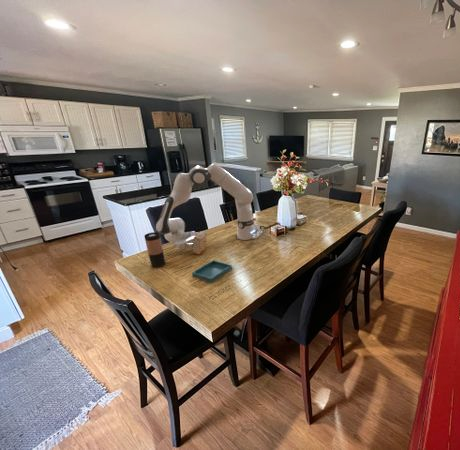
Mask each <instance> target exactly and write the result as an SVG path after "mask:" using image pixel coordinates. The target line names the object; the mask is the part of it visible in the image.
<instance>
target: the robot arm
mask: <svg viewBox="0 0 460 450" xmlns="http://www.w3.org/2000/svg"><path fill="white" fill-rule="evenodd" d="M210 181H212V182H214V183H215V184H217V186H218V187H220V188H221V189H223V190H224V191H226V192H227V193H228V194H229V195H231V197H233V198H234V202H235V207H236V214H237V221H236V223H237V226H236V227H237V228H236V230H237V231H236V238H237V239H238V240H241V241H243V240H244V241H247V240H256V239H258V238H259V237H260V236H261V235H262V234H263V233H264V230H263V229H269V228H272V227H273V226H275V225H277V224H278V223H277V222H278V221H276V222H274V223H273V224H271V225H269V226H264V225H261V224H258V223H256V221H257V218H256V217H253V209H252V205H251V203H253V201H254V194H253V192H252V191H251V190H250V189H249V188H247V187H246V185H244V184H242V182H241V181H240V180H238V179H237V178H236V177H234V176H233V175H231V173H229V171H227V170H225V168H223V167H221V166H220V165H218V164H216V163H212V164H210V165H208V166H207V167H204V166H203V165H199V164H195V165H194V166H192V167H191V168H190V169H189V171H187V173H185V172H181V173H178V174H177V175H176V177H175V180H174V182H173V186H172V190H171V193H170V194H169V196H168V197H167V198H166V199H165V201H164V203H163V206H162V209H161V212H160V215H159V217H158V220H157V221H156V223H155V230H156V232H158V233H159V235H163V236H164V239H165V240H166V241H167V242H169V243H171V246H172V247H175V248H177V249H179V250H182V249H185V248H186V247H192V248H193V244H194V236H196V235H197V234H198V233H199V232H198V231H197V232H196V231H195V230H191V231H186V223H185V221H184V220H183V219H182V218H181V217H174V218H173V217H172V218H171V216H172V213H173V210H174V209H175V208H176V207H178V206H180V205H182V204H185V203H187V202H188V201H189V199H190V198H191V195H192V189H193V186H194V185H197V186H202V185H205V184H206V183H208V182H210ZM301 214H302V212H299V213H298V215H301ZM262 228H263V229H262Z"/></svg>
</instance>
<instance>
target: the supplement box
mask: <svg viewBox="0 0 460 450" xmlns="http://www.w3.org/2000/svg"><path fill="white" fill-rule="evenodd" d="M207 237H208V233H207V232H205V231H201V230H200V231H199V232H198V234H197V235H196V236H194V244H193V246H192V253H193V254H196V255H201V253H202V252H203V251H204V250H205V249H206V248H207V247H206V246H207V240H208V239H207Z"/></svg>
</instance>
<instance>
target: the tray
mask: <svg viewBox="0 0 460 450" xmlns="http://www.w3.org/2000/svg"><path fill="white" fill-rule="evenodd" d="M232 269H233V265H232V264H228V263H226V262H222V261H218V260H215V259H213V260H211V261H210V262H207V263H206V264H204V265H203V266H200V267H199V268H197V269H196V270H194V271H192V272H191V275H192V277H193V278H196V279H199V280H202V281H205V282H208V283H213V282H215V281H217V280H218V279H219V278H221V277H223V276H224V275H225V274H227V273H229V272H230V271H231V270H232Z"/></svg>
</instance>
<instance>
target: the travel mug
mask: <svg viewBox="0 0 460 450" xmlns="http://www.w3.org/2000/svg"><path fill="white" fill-rule="evenodd" d="M160 235H161V234H160V233H159V232H158V231H152V232H148V233H146V234H144V240H145V245H146V250H147V253H148V258H149V262H150V265H151V267H152V268H153V269H156V268H157V269H158V268H162V267H164V266H165V265H166V260H165V254H164V248H163V244H162V239H161V236H160Z"/></svg>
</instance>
